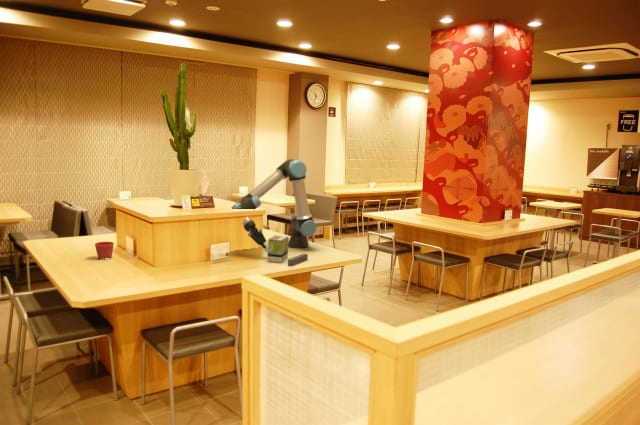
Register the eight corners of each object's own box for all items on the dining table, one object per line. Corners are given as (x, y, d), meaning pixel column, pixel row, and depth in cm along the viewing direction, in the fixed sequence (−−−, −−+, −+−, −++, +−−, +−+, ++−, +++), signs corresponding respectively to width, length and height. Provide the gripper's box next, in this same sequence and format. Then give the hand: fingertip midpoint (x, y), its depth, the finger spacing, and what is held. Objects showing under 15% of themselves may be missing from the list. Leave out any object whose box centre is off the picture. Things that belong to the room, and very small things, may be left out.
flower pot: (114, 259, 318) (113, 244, 316) (95, 260, 314) (94, 245, 312) (114, 255, 327) (113, 241, 326) (95, 256, 323) (95, 242, 322)
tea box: (282, 263, 319) (282, 240, 316) (266, 261, 320) (267, 238, 318) (288, 257, 333) (288, 235, 331) (273, 256, 335) (274, 234, 333)
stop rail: (303, 259, 329) (303, 253, 329) (307, 260, 328) (307, 254, 328) (287, 265, 312) (287, 259, 311) (292, 266, 310) (292, 260, 310)
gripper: (250, 225, 340) (270, 253, 335) (238, 228, 329) (259, 256, 324) (256, 218, 337) (277, 246, 332) (245, 221, 326) (267, 249, 320)
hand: (268, 251), depth 328 cm, fingers closed
